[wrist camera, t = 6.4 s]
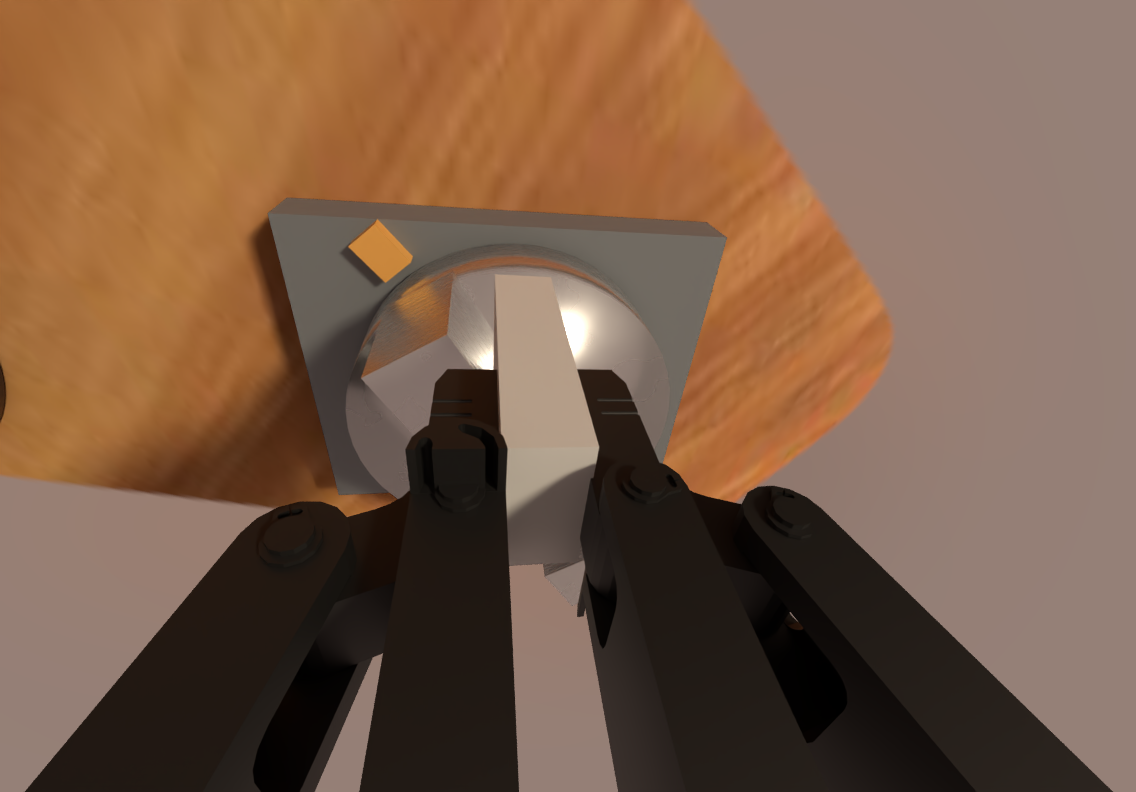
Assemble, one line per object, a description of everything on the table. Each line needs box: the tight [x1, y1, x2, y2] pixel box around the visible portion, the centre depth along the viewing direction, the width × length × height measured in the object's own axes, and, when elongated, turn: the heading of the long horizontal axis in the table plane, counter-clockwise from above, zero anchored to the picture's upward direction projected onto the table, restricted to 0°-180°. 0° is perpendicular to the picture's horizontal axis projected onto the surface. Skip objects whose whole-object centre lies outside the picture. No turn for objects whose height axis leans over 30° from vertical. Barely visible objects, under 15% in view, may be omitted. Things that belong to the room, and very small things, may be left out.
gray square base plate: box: [268, 198, 727, 495], centre depth 21 cm, size 16×13×3 cm
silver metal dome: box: [346, 243, 670, 606], centre depth 18 cm, size 12×12×7 cm
